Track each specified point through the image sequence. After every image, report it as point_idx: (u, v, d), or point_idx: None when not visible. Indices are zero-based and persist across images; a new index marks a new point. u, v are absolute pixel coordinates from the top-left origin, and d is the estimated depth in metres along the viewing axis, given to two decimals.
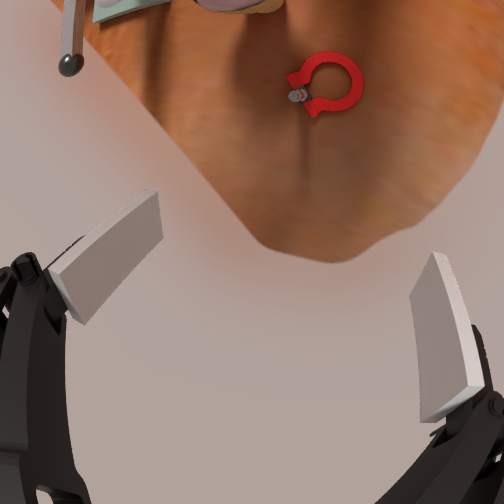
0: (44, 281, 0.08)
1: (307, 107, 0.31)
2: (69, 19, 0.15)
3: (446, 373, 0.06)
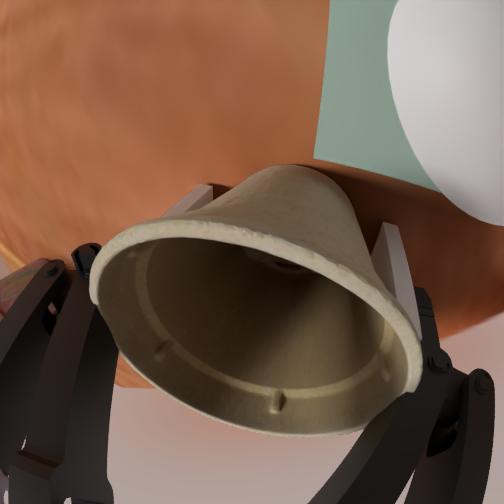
0: None
1: None
2: None
3: None
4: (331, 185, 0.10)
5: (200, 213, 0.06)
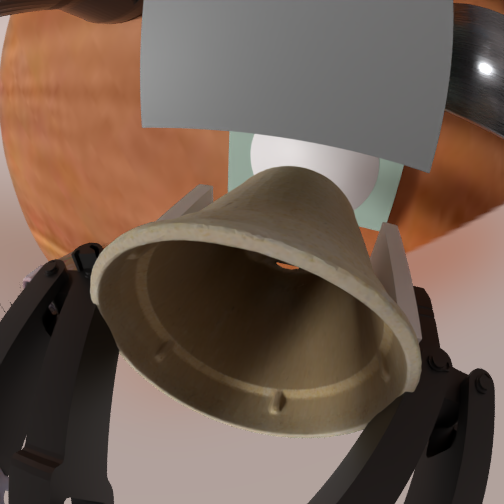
0: None
1: None
2: None
3: None
4: (331, 186, 0.10)
5: (200, 215, 0.06)
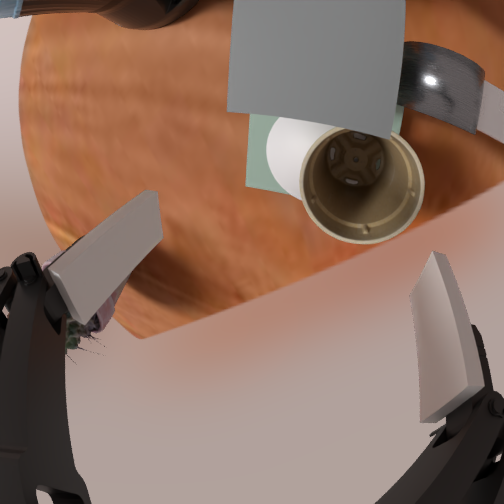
0: (44, 281, 0.08)
1: None
2: None
3: (446, 373, 0.06)
4: (377, 137, 0.22)
5: None
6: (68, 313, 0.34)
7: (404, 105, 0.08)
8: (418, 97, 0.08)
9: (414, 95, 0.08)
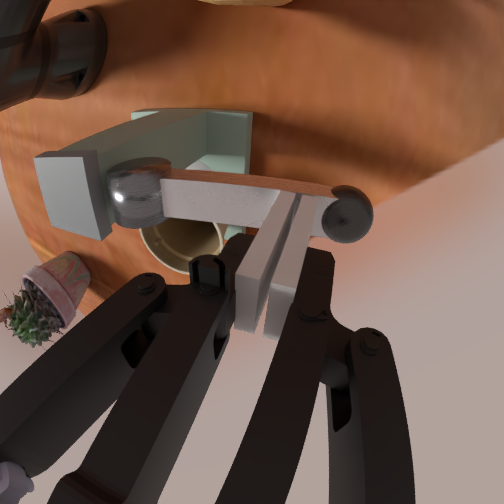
0: (227, 298, 0.08)
1: None
2: (237, 199, 0.14)
3: None
4: None
5: None
6: (40, 314, 0.41)
7: None
8: None
9: (113, 211, 0.15)
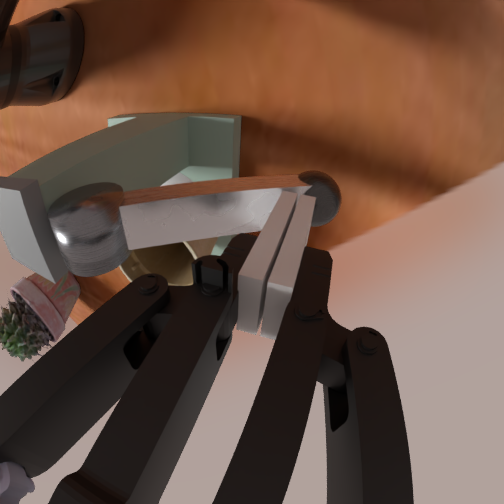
0: (230, 299, 0.08)
1: None
2: (213, 209, 0.13)
3: None
4: None
5: None
6: (28, 328, 0.38)
7: (66, 265, 0.12)
8: (67, 263, 0.11)
9: (65, 261, 0.11)
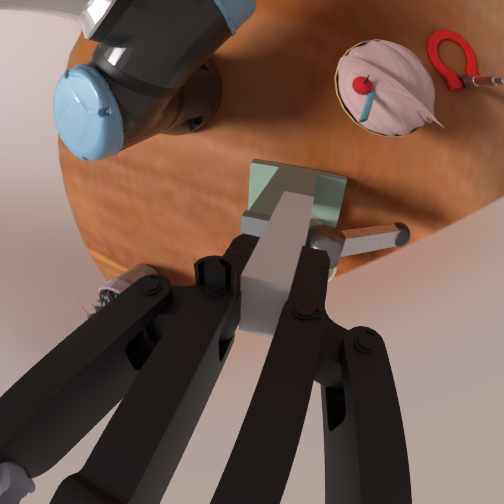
0: (233, 300, 0.08)
1: None
2: (371, 240, 0.29)
3: None
4: None
5: None
6: None
7: None
8: None
9: None
